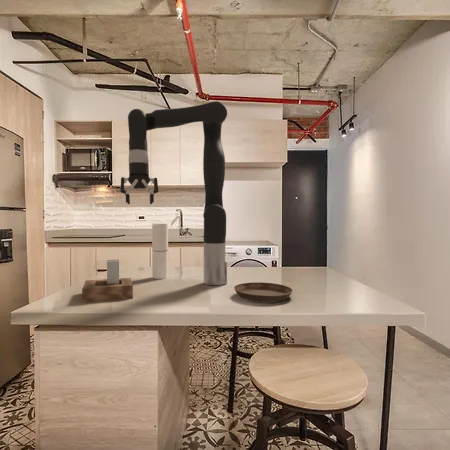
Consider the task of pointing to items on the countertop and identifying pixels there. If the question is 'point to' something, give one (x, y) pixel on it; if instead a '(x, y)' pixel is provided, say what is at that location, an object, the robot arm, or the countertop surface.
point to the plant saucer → (263, 292)
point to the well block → (107, 290)
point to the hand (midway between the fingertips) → (139, 204)
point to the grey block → (113, 272)
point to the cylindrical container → (160, 250)
